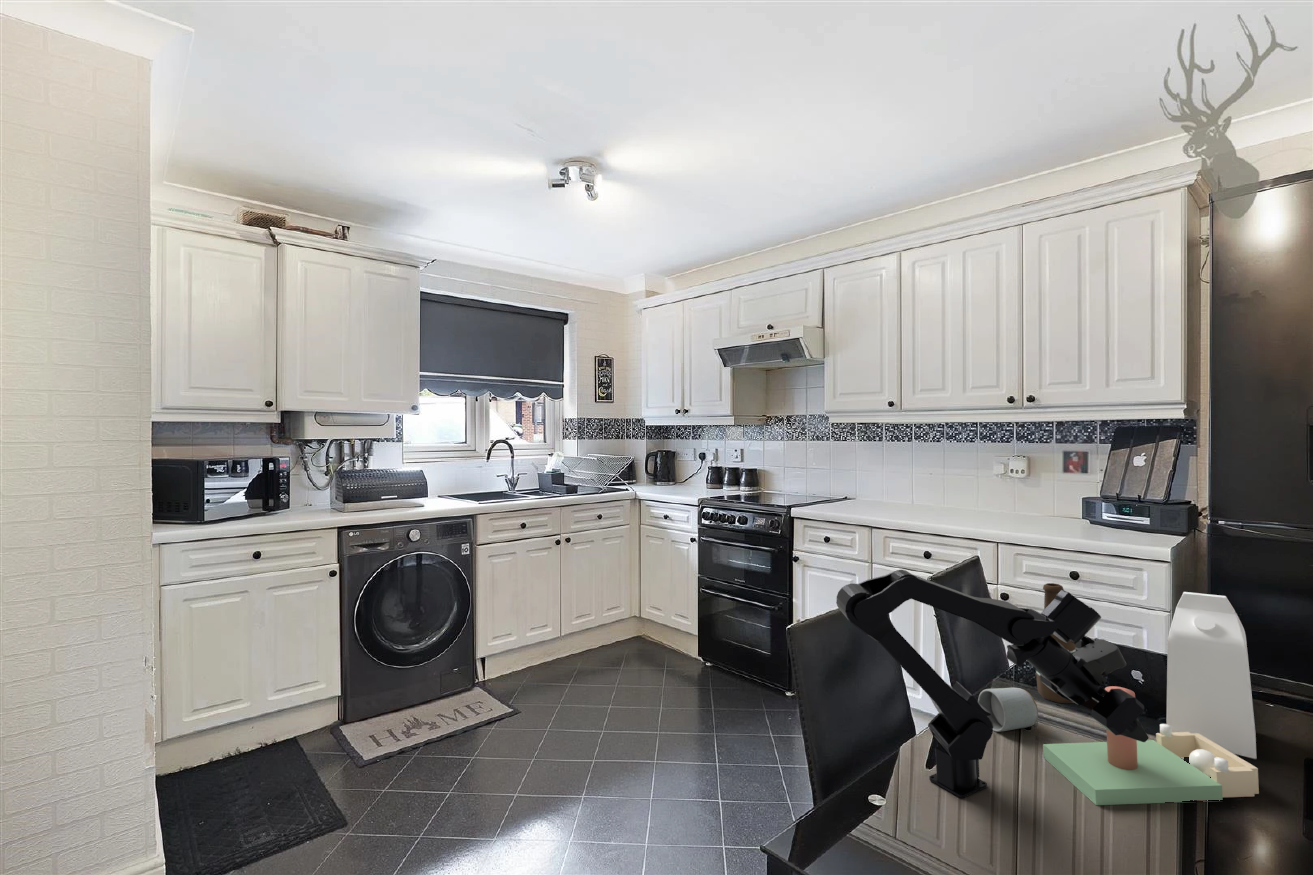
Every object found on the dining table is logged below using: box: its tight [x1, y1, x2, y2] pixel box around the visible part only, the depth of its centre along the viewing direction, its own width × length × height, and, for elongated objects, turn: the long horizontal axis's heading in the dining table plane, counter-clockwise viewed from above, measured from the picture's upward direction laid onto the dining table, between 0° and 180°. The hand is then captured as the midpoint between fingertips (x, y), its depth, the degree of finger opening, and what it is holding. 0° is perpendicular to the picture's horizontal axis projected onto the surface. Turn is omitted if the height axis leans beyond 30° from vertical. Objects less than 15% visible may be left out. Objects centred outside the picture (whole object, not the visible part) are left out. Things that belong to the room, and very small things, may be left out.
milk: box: [1165, 591, 1257, 760], centre depth 115 cm, size 12×12×26 cm
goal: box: [1155, 723, 1260, 798], centre depth 103 cm, size 7×13×6 cm, turn 178°
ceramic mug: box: [977, 687, 1039, 733], centre depth 124 cm, size 11×8×8 cm
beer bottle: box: [1035, 582, 1076, 704], centre depth 134 cm, size 8×8×24 cm
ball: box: [1189, 749, 1216, 777], centre depth 103 cm, size 4×4×4 cm
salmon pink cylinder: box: [1104, 685, 1138, 770], centre depth 104 cm, size 4×4×12 cm
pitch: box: [1042, 739, 1224, 806], centre depth 104 cm, size 19×14×2 cm
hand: (1125, 725), depth 104 cm, fingers open, 9 cm apart
